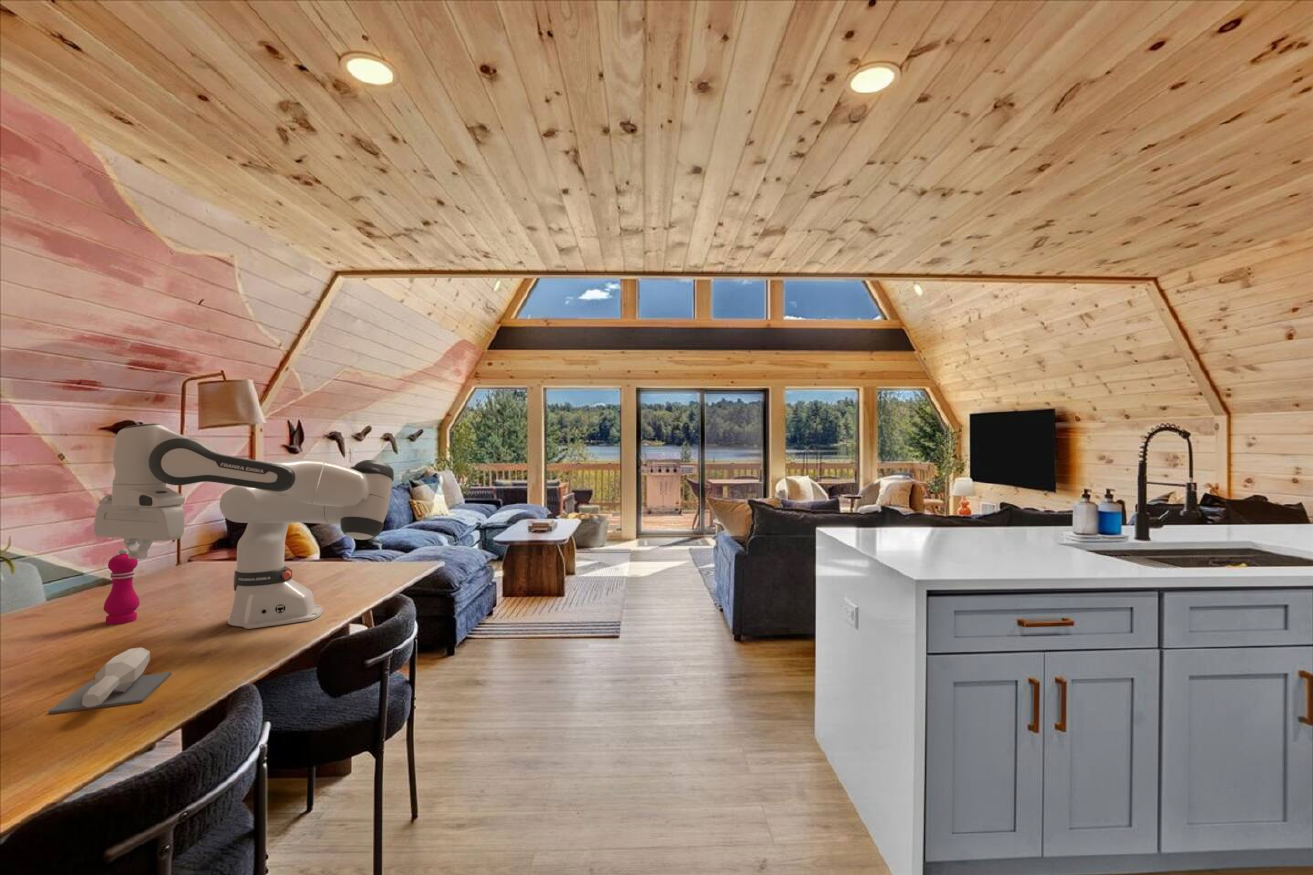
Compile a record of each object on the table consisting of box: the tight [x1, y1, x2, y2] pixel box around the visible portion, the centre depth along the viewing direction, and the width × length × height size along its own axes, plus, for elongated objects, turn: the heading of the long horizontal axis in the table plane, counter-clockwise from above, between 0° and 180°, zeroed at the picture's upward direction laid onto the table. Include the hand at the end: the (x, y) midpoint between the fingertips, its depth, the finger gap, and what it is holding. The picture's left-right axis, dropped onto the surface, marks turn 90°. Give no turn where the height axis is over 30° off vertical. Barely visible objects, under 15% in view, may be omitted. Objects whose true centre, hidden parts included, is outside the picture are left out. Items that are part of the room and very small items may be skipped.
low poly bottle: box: [82, 647, 151, 707], centre depth 112 cm, size 6×6×22 cm
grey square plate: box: [48, 671, 172, 715], centre depth 113 cm, size 14×14×1 cm
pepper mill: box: [103, 548, 141, 626], centre depth 156 cm, size 7×7×20 cm
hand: (137, 558), depth 126 cm, fingers closed
